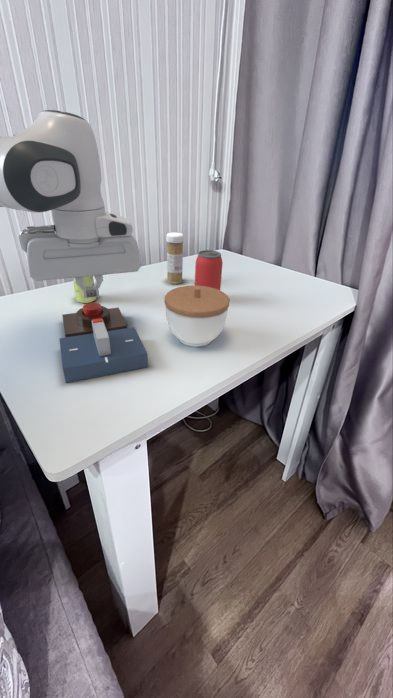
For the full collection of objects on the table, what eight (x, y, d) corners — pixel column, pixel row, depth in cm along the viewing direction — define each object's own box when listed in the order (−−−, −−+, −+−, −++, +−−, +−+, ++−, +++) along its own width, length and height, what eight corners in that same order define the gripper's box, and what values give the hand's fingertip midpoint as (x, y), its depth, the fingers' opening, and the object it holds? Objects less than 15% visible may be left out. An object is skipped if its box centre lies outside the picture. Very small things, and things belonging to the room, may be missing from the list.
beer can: (223, 303, 84) (228, 256, 78) (199, 306, 82) (202, 258, 75) (213, 293, 89) (216, 248, 83) (190, 296, 87) (191, 250, 81)
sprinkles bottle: (180, 278, 97) (181, 231, 90) (184, 284, 94) (185, 235, 86) (165, 279, 96) (164, 231, 89) (168, 285, 93) (167, 236, 85)
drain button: (84, 318, 67) (83, 311, 66) (83, 311, 69) (81, 303, 68) (103, 316, 68) (102, 308, 67) (100, 309, 71) (99, 301, 70)
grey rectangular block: (111, 354, 57) (108, 336, 55) (99, 356, 57) (96, 337, 55) (104, 335, 63) (102, 317, 61) (93, 336, 62) (91, 319, 60)
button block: (66, 344, 65) (63, 326, 63) (63, 323, 72) (60, 306, 70) (127, 334, 69) (126, 317, 67) (119, 316, 76) (117, 300, 74)
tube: (69, 301, 82) (54, 217, 71) (82, 293, 86) (70, 213, 75) (88, 305, 80) (76, 220, 69) (101, 297, 84) (91, 216, 73)
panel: (66, 385, 55) (62, 369, 53) (62, 350, 63) (59, 335, 61) (148, 369, 59) (148, 354, 58) (134, 338, 68) (133, 324, 66)
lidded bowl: (201, 318, 77) (203, 272, 71) (237, 342, 68) (244, 292, 62) (153, 333, 70) (152, 283, 64) (188, 361, 62) (189, 308, 56)
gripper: (15, 231, 53) (34, 309, 60) (140, 225, 60) (144, 296, 67) (17, 222, 58) (35, 296, 65) (133, 217, 65) (137, 284, 72)
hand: (91, 296), depth 66 cm, fingers closed
